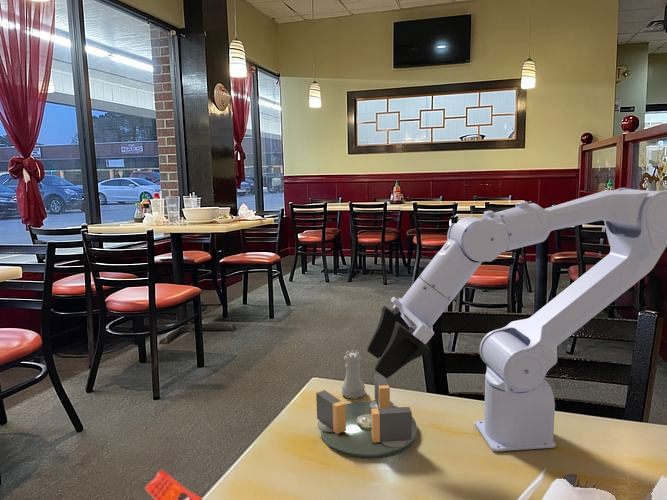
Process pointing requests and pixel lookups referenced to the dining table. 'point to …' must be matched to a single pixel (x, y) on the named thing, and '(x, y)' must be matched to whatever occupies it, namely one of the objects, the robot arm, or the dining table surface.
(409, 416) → the knob
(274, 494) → the dining table surface
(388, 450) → the base plate
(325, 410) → the knob
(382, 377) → the grey block
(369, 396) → the dining table surface
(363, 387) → the rook chess piece
